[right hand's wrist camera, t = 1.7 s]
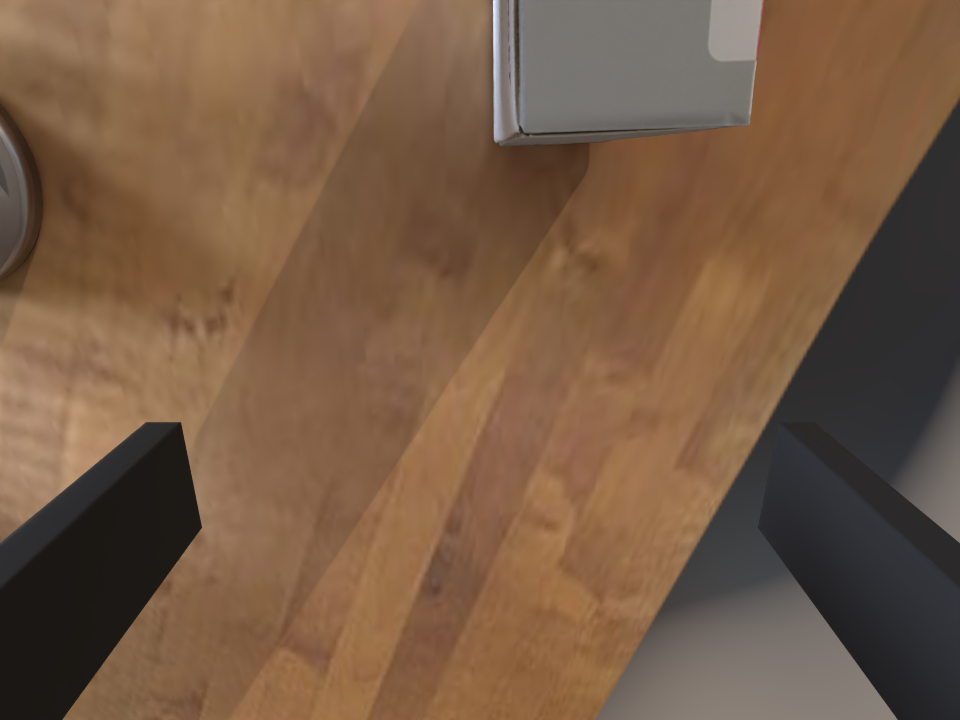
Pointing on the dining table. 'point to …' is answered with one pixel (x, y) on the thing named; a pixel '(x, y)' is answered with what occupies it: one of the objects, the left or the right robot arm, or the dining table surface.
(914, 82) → the dining table surface
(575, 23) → the hard drive box
